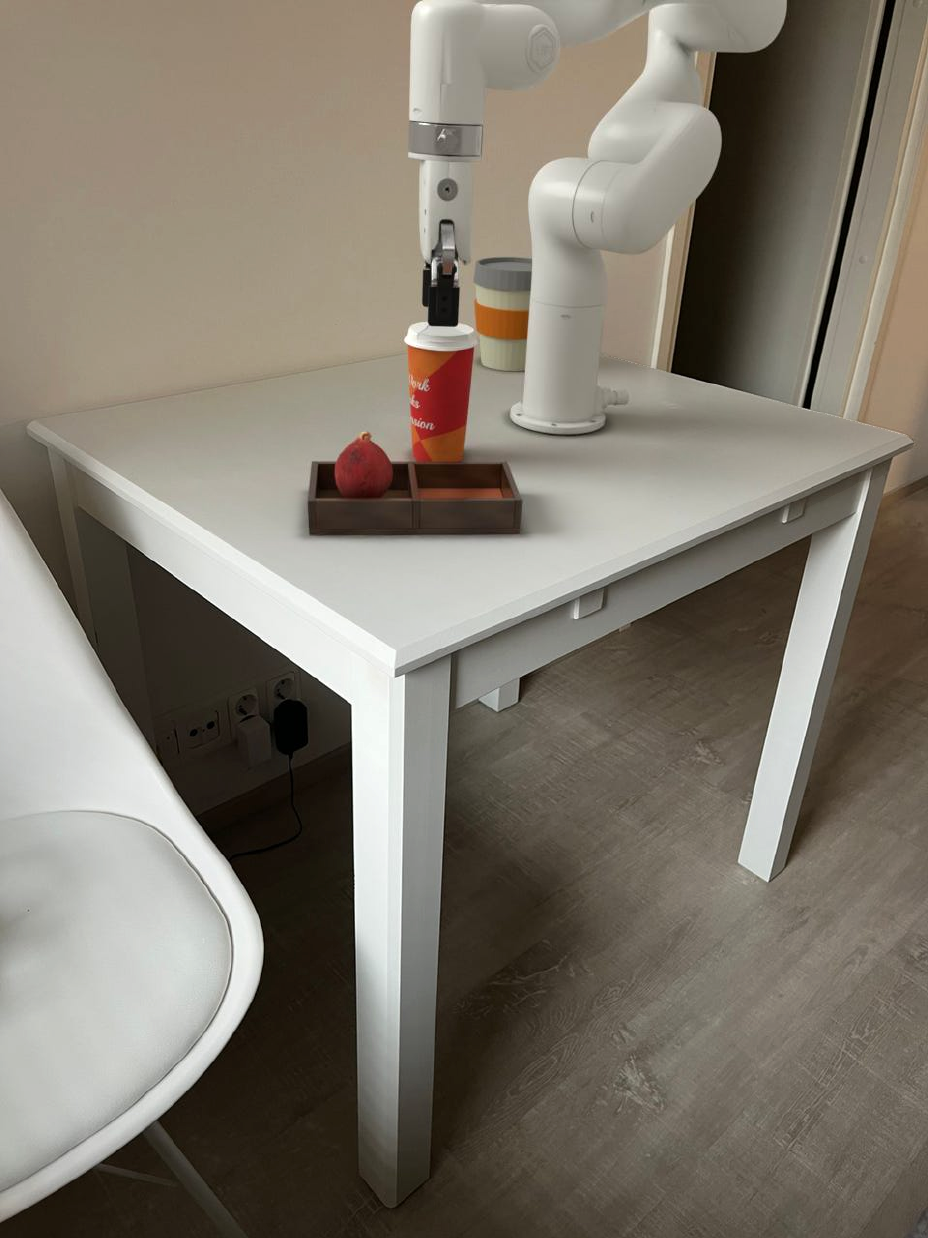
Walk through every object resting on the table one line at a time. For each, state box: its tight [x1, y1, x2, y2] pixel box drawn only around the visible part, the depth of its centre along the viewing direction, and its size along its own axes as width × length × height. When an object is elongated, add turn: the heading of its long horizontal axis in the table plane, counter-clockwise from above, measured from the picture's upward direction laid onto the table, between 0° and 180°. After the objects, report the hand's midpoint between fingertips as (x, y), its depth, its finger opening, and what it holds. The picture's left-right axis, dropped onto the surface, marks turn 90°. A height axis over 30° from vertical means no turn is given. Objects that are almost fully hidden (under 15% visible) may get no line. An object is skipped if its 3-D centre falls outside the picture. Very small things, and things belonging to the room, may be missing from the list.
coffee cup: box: [404, 321, 479, 462], centre depth 111 cm, size 8×8×15 cm
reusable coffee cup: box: [472, 256, 532, 372], centre depth 149 cm, size 13×13×15 cm
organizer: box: [307, 460, 523, 536], centre depth 99 cm, size 21×11×4 cm, turn 96°
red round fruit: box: [335, 430, 393, 498], centre depth 97 cm, size 6×6×8 cm
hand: (439, 315), depth 107 cm, fingers open, 9 cm apart
